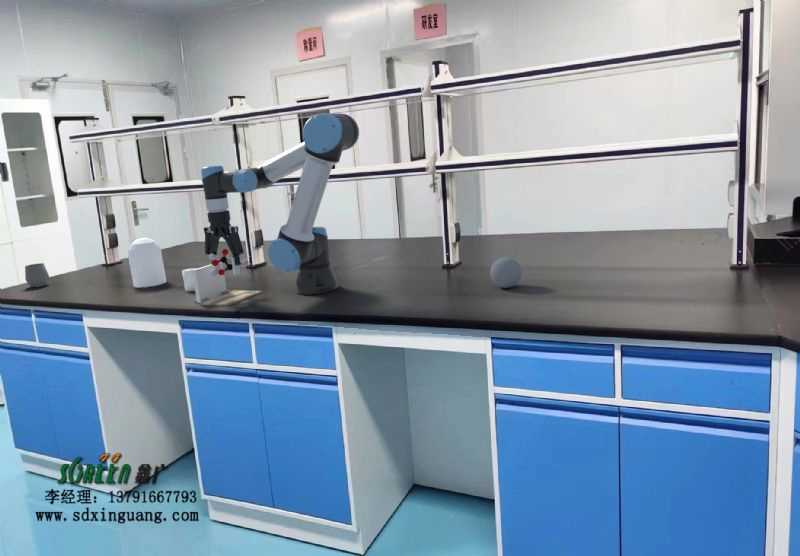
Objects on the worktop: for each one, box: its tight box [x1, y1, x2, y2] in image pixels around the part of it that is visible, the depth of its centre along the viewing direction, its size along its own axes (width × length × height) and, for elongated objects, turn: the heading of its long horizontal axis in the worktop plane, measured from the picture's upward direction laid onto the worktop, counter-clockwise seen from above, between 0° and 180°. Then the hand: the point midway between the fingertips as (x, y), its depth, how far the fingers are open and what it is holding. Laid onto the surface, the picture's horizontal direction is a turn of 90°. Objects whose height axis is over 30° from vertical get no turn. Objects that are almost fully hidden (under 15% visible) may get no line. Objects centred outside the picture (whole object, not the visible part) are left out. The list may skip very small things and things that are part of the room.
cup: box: [24, 262, 50, 288], centre depth 281 cm, size 10×9×10 cm
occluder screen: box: [192, 262, 231, 304], centre depth 225 cm, size 5×14×12 cm, turn 154°
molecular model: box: [208, 248, 249, 276], centre depth 220 cm, size 16×8×10 cm, turn 149°
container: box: [127, 237, 167, 289], centre depth 262 cm, size 14×13×20 cm
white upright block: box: [181, 267, 199, 292], centre depth 243 cm, size 6×6×8 cm
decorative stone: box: [489, 256, 522, 289], centre depth 200 cm, size 10×10×10 cm
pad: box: [199, 289, 263, 307], centre depth 222 cm, size 13×18×1 cm
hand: (227, 273), depth 220 cm, fingers closed on molecular model, 8 cm apart
